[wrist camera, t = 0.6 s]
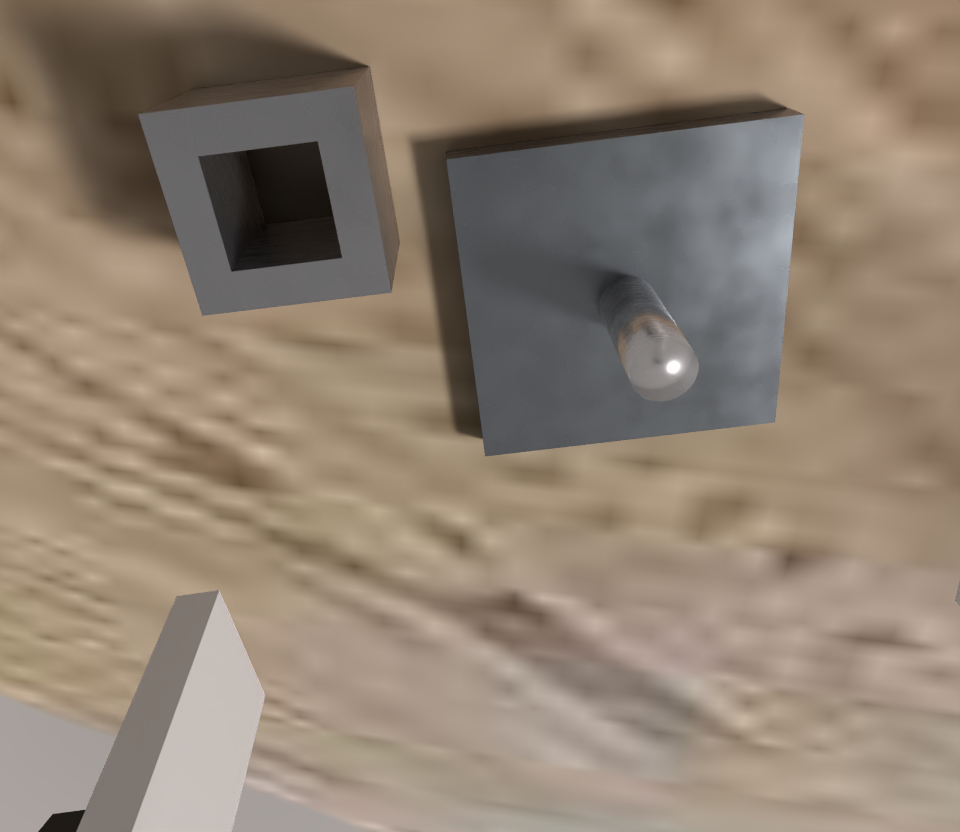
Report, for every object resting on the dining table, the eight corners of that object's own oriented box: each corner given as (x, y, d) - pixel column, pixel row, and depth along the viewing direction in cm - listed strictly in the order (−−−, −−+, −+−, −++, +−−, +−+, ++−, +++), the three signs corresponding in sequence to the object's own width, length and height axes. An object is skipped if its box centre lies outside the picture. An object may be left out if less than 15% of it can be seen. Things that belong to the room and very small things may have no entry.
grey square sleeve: (191, 89, 30) (138, 114, 25) (369, 66, 30) (353, 86, 24) (240, 262, 33) (202, 315, 28) (399, 242, 33) (391, 292, 28)
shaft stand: (446, 151, 31) (446, 202, 24) (789, 108, 31) (888, 147, 24) (483, 439, 38) (492, 542, 31) (763, 406, 38) (834, 503, 31)
